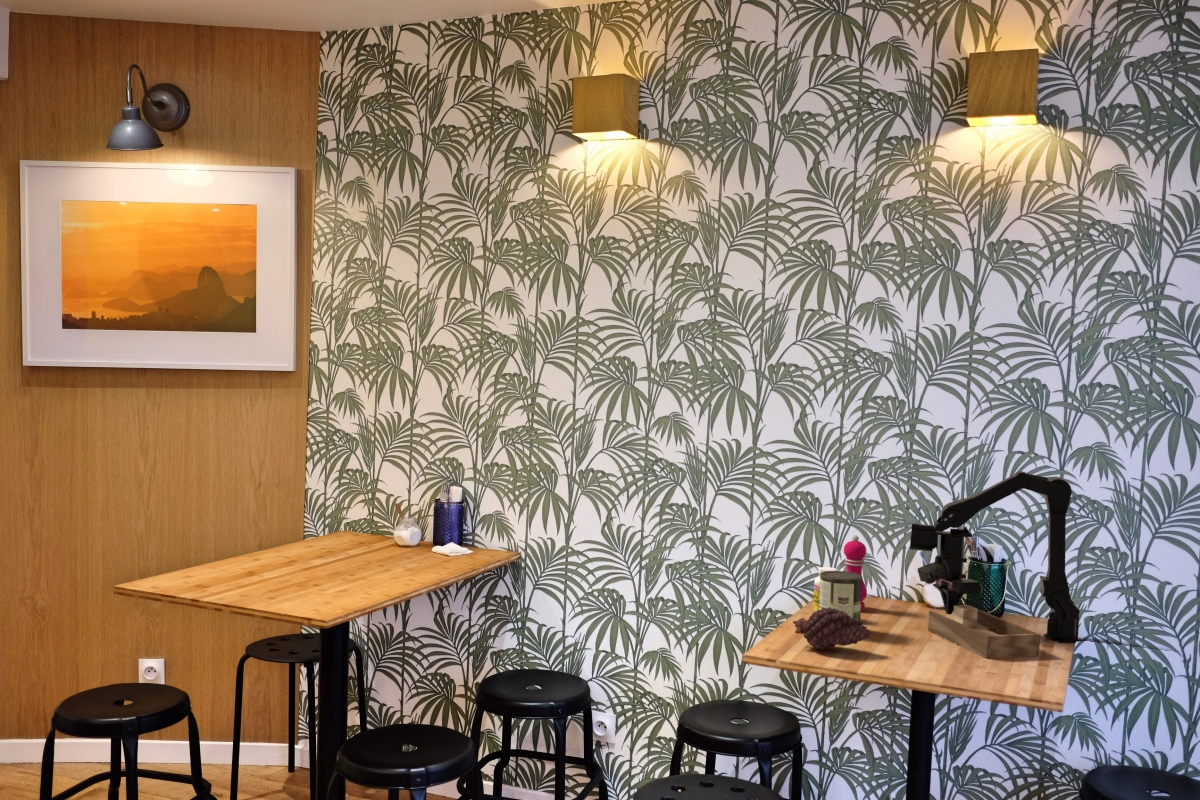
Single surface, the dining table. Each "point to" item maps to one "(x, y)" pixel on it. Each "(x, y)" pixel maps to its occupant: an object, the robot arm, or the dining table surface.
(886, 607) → the dining table surface
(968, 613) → the beech block
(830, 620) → the pine cone
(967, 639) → the tray
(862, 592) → the pepper mill
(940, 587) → the robot arm
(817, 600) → the supplement bottle
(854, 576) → the coffee can
